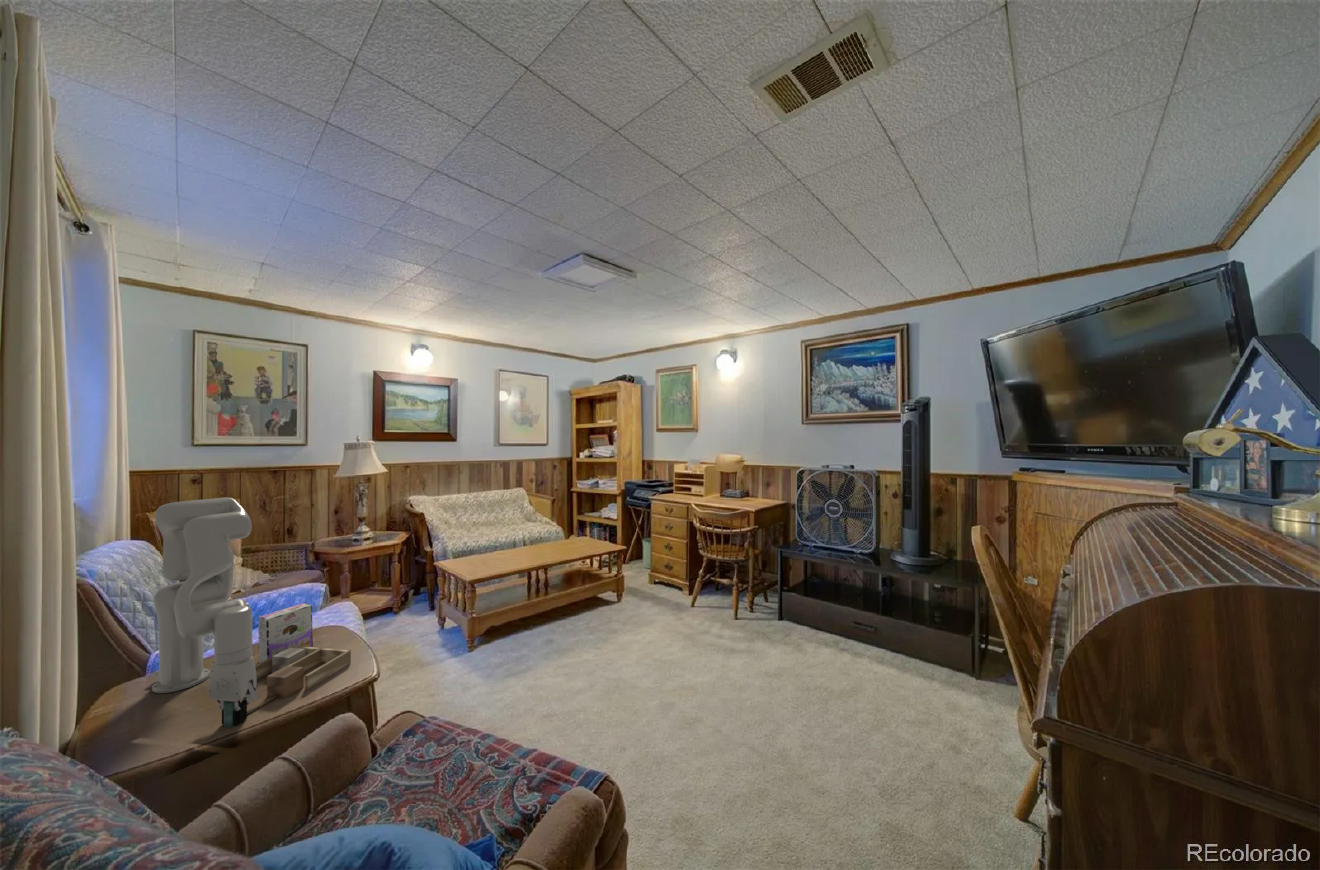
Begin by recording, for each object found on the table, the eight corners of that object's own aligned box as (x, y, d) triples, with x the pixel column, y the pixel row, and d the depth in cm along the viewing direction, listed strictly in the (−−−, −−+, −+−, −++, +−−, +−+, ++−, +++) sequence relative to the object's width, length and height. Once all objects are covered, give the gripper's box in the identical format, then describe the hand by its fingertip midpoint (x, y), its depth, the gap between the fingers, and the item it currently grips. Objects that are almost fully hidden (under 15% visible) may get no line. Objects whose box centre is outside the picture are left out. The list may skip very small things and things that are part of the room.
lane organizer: (245, 686, 141) (245, 670, 141) (293, 660, 157) (293, 645, 157) (308, 692, 138) (307, 675, 138) (350, 665, 154) (350, 650, 154)
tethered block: (215, 728, 121) (215, 702, 121) (286, 686, 140) (286, 664, 140) (235, 731, 120) (234, 704, 120) (303, 688, 140) (303, 665, 140)
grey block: (272, 674, 147) (272, 656, 147) (289, 665, 153) (289, 647, 153) (288, 676, 146) (288, 657, 146) (305, 666, 152) (305, 648, 152)
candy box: (304, 646, 167) (303, 601, 167) (313, 649, 165) (313, 604, 164) (258, 663, 155) (257, 615, 154) (267, 667, 152) (266, 619, 152)
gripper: (192, 659, 120) (193, 728, 120) (245, 663, 118) (246, 733, 118) (223, 645, 127) (223, 710, 127) (273, 649, 125) (274, 715, 125)
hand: (234, 721), depth 123 cm, fingers closed on tethered block, 2 cm apart
